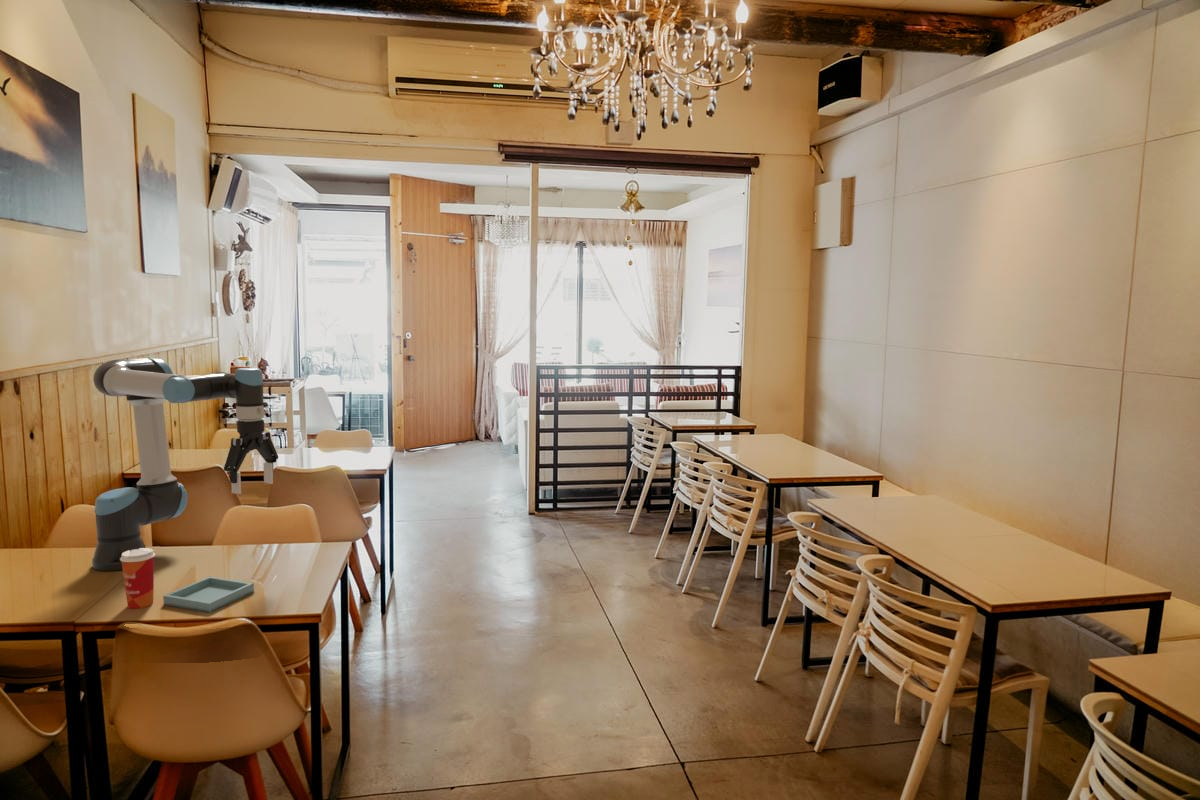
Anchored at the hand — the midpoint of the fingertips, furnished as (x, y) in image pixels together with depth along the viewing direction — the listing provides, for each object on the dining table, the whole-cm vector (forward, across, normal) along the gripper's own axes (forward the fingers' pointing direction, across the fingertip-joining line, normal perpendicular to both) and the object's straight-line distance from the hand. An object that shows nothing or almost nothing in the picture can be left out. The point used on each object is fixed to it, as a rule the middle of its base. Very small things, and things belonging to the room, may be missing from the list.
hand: (253, 488), depth 227 cm
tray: (+27, -20, -2) cm, 34 cm away
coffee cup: (+27, -30, +12) cm, 42 cm away
